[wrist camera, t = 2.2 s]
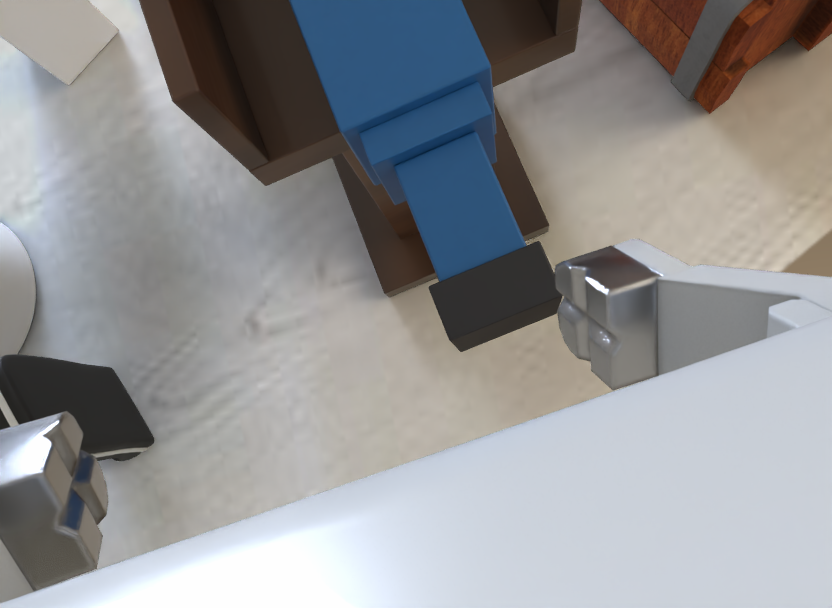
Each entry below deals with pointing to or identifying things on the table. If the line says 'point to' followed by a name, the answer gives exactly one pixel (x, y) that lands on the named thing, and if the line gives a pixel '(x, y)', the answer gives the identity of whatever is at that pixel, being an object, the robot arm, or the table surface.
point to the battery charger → (74, 403)
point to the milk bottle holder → (719, 37)
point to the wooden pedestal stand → (311, 113)
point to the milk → (56, 33)
